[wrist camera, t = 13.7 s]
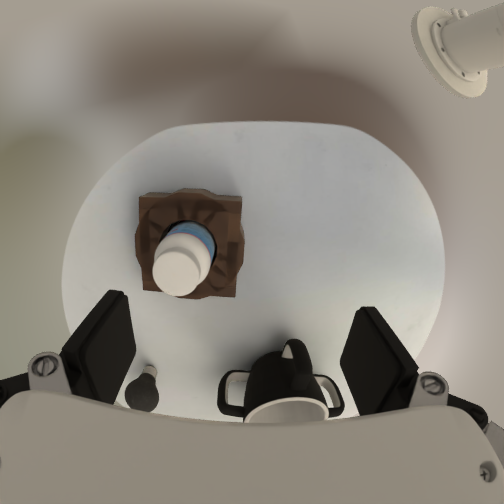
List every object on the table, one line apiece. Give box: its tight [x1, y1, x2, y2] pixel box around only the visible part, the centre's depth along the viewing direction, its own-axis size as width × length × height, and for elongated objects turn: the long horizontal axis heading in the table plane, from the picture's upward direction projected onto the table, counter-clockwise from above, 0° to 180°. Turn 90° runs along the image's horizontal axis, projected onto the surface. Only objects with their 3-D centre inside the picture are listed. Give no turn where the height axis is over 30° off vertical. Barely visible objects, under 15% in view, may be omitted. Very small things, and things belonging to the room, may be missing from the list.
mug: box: [217, 339, 345, 423], centre depth 38 cm, size 16×16×12 cm
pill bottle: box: [153, 220, 216, 296], centre depth 30 cm, size 6×6×11 cm
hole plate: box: [135, 188, 245, 299], centre depth 34 cm, size 13×13×4 cm
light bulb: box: [125, 366, 159, 412], centre depth 38 cm, size 6×6×10 cm
